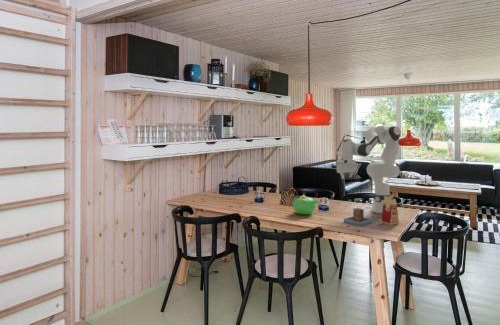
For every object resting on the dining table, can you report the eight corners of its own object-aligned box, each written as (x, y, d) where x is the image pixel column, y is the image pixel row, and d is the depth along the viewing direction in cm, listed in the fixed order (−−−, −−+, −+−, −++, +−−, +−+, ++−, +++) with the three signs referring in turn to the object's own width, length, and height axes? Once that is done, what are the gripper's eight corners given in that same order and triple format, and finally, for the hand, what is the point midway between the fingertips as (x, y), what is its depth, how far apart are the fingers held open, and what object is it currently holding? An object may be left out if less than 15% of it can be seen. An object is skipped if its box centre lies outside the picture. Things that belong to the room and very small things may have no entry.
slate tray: (355, 219, 268) (355, 215, 268) (372, 222, 257) (372, 219, 257) (343, 222, 260) (343, 218, 259) (360, 226, 248) (360, 222, 248)
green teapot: (308, 211, 295) (308, 193, 294) (320, 215, 280) (320, 196, 278) (289, 213, 287) (289, 195, 286) (300, 217, 272) (301, 198, 271)
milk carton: (398, 223, 256) (399, 195, 254) (390, 225, 251) (391, 196, 249) (387, 220, 264) (388, 193, 262) (379, 222, 259) (380, 194, 257)
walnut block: (357, 220, 262) (357, 208, 261) (363, 221, 258) (363, 209, 257) (353, 221, 259) (353, 209, 258) (359, 222, 255) (359, 210, 254)
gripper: (351, 159, 287) (351, 176, 288) (335, 160, 275) (335, 178, 276) (358, 159, 282) (358, 177, 283) (342, 161, 270) (341, 179, 271)
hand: (346, 178), depth 280 cm, fingers open, 8 cm apart
